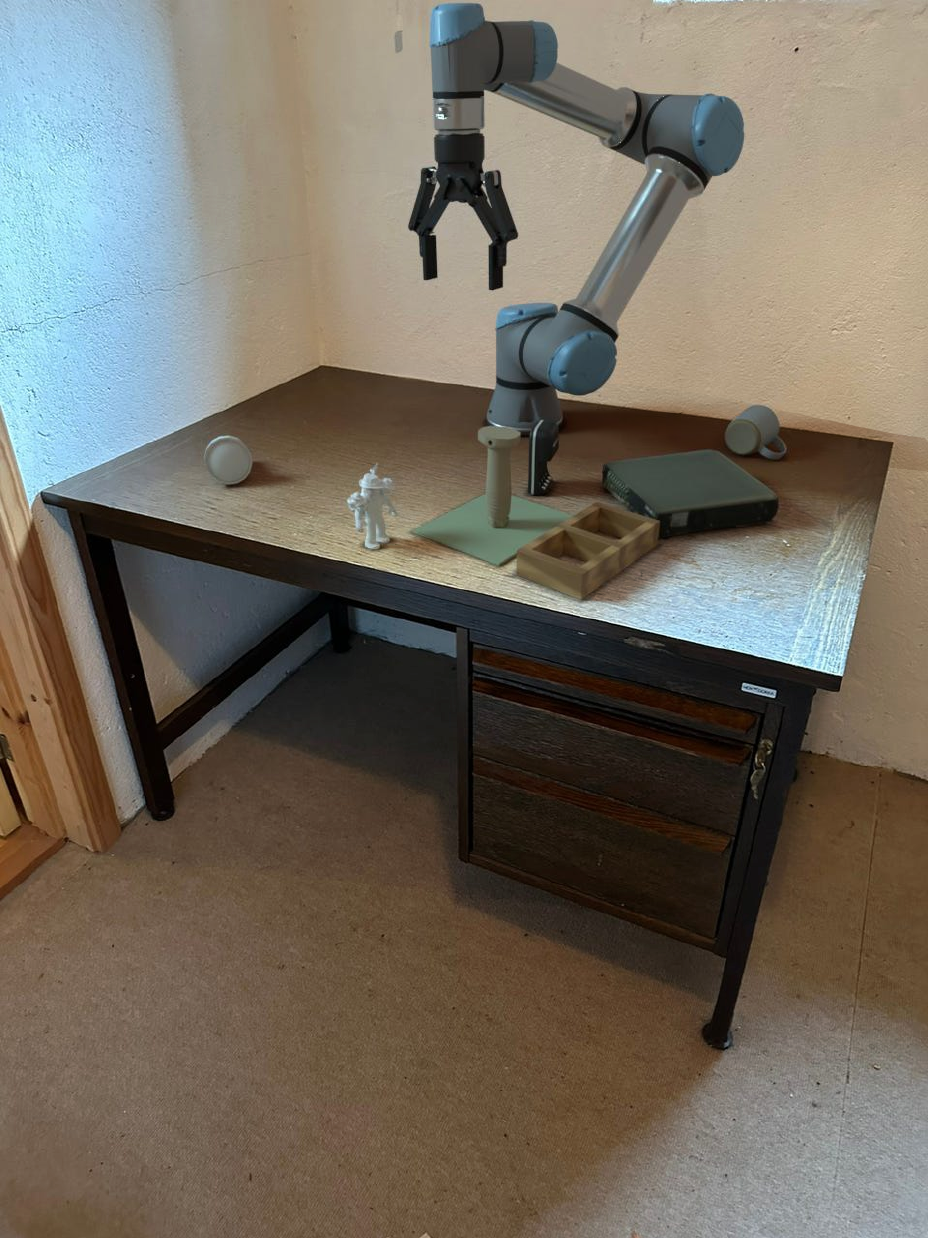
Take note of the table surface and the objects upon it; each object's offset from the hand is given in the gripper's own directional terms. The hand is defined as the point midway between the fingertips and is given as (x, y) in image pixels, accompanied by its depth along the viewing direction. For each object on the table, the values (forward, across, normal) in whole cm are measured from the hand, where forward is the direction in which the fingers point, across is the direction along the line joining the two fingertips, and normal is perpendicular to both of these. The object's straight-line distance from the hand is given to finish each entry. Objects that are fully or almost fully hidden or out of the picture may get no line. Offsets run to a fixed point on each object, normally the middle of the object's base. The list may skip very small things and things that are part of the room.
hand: (462, 283), depth 138 cm
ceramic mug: (+32, +38, +38) cm, 63 cm away
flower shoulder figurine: (+31, +8, -31) cm, 45 cm away
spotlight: (+31, -31, -29) cm, 53 cm away
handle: (+31, +19, -16) cm, 40 cm away
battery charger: (+32, +16, 0) cm, 36 cm away
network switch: (+32, +39, +9) cm, 51 cm away
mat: (+31, +19, -16) cm, 40 cm away
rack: (+31, +36, -16) cm, 51 cm away
